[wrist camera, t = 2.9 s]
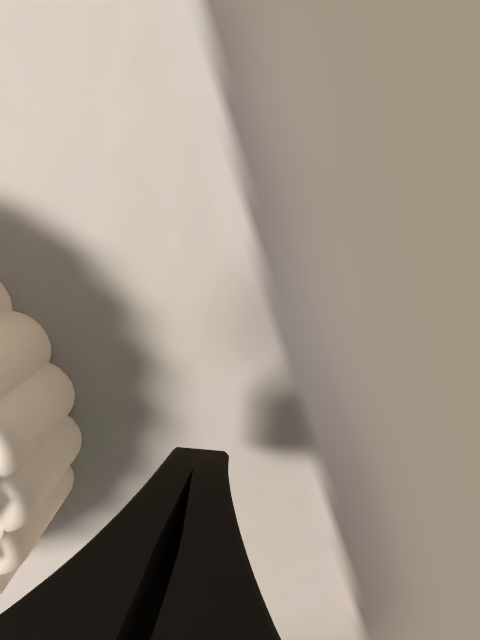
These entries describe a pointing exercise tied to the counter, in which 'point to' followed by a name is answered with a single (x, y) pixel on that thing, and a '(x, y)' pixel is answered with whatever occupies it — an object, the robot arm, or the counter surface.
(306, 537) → the counter surface
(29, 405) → the mooncake
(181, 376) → the counter surface
